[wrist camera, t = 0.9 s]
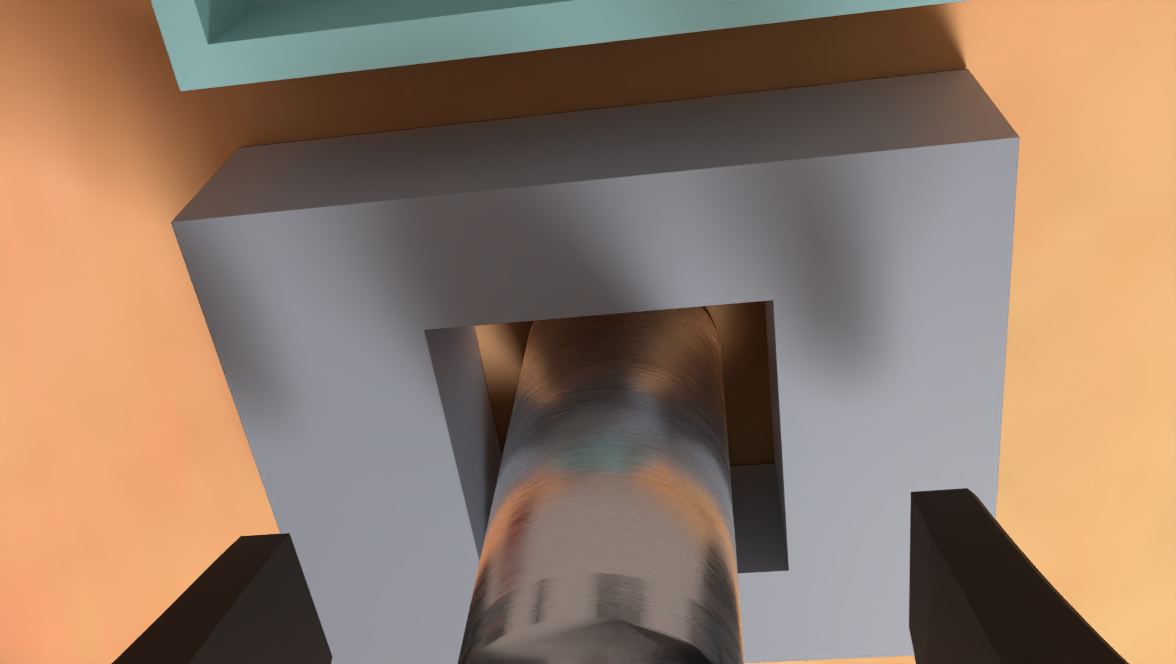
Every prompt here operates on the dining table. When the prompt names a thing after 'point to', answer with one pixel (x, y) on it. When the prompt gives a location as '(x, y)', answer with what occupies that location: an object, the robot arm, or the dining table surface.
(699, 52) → the dining table surface
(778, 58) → the dining table surface
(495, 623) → the pin
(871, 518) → the socket block
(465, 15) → the tray
